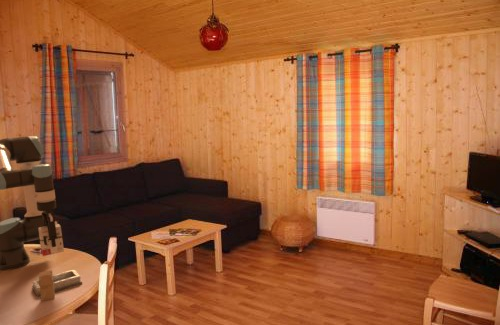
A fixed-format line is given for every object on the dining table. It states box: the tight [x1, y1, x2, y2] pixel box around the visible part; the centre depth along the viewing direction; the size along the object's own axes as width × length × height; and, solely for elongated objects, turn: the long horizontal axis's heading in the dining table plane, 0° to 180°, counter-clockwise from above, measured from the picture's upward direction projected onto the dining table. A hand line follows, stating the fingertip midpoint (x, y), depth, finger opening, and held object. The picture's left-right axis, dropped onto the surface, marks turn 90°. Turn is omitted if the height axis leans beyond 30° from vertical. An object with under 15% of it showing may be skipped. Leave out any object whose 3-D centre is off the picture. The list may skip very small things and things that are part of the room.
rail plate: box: [31, 269, 83, 298], centre depth 184 cm, size 12×18×4 cm, turn 128°
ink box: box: [38, 223, 65, 257], centre depth 181 cm, size 8×5×12 cm, turn 124°
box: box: [38, 270, 56, 302], centre depth 172 cm, size 5×4×11 cm
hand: (52, 251), depth 182 cm, fingers closed on ink box, 5 cm apart
